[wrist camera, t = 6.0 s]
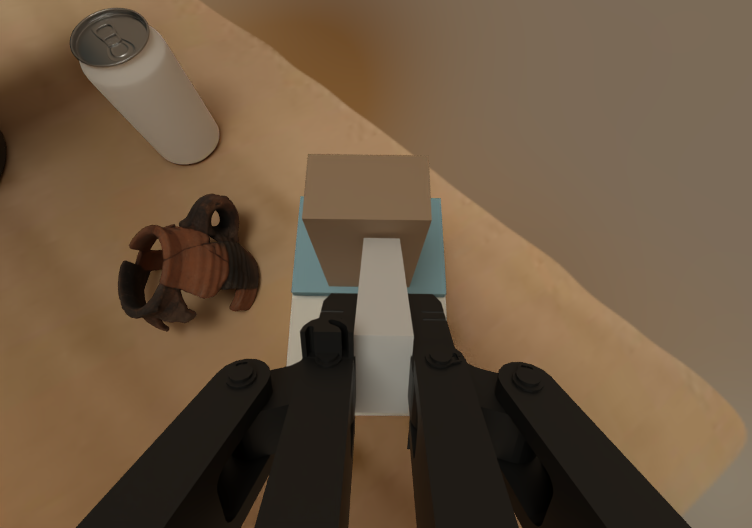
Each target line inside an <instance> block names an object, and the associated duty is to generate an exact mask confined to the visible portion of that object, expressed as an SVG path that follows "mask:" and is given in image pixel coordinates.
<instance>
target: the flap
mask: <svg viewBox="0 0 752 528" xmlns="http://www.w3.org/2000/svg"><path fill="white" fill-rule="evenodd" d="M364 238H400V244H401V251H402V258H403V265H404V272H405V279H406V286H407V293H408V294H433V295H434V296H435V297H445V295H446V279H445V262H444V246H443V230H442V214H441V198H431V195H430V175H429V156H411V155H340V154H308V159H307V170H306V181H305V191H304V196H301V198H300V208H299V219H298V229H297V239H296V250H295V260H294V270H293V281H292V291H291V292H292V294H293V295H294V296H329V295H330V294H331V293H346V294H358V288H359V278H360V269H361V259H362V250H363V240H364Z"/></svg>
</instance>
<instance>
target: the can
mask: <svg viewBox="0 0 752 528" xmlns="http://www.w3.org/2000/svg"><path fill="white" fill-rule="evenodd" d="M70 48H71V51H72V53H73V55H74V56H75V57H76V58H77V59H78V60H79V62H80V65H81V68H82V70H83V72H84V74H85V75H86V77H87V78H88V79H89V80H90V81H91V82H92V84H93V85H94V86H95V87H96V88H97V89H98V90H99V91H100V92H101V93H102V94H103V95H104V96H105V97H106V98H107V99H108V101H109V102H110V103H111V104H112V105H113V106H114V107H115V108H116V109H117V110H118V111H119V112H120V113H121V114H122V115H123V116H124V117H125V118H126V119H127V120H128V121H129V123H130V124H131V125H132V126H133V127H134V128H135V129H136V130H137V131H138V132H139V133H140V134H141V135H142V136H143V137H144V138H145V139H146V140H147V141H148V142H149V143H150V144H151V145H152V146H153V147H154V148H155V149H156V150H157V151H158V152H159V153H160V154H161V155H162V156H163V157H164V158H165V159H166V160H168V161H170V162H172V163H175V164H193V163H197V162H200V161H202V160H203V159H205V158H206V157H208V156H209V155H210V154H211V153H212V152H213V151H214V149H215V148H216V146H217V144H218V141H219V128H218V126H217V124H216V122H215V120H214V119H213V117H212V115H211V114H210V112H209V110H208V109H207V107H206V105H205V104H204V102H203V101H202V99H201V97H200V96H199V94H198V92H197V91H196V89H195V88H194V86H193V84H192V83H191V81H190V80H189V78H188V76H187V75H186V73H185V71H184V70H183V68H182V67H181V65H180V63H179V62H178V60H177V59H176V57H175V55H174V54H173V52H172V51H171V49H170V47H169V46H168V44H167V43H166V41H165V40H164V38H163V37H162V36H161V35H160V33H159V32H158V31H156V30H155V29H154V28H153V27H151V26H150V25H148V23H147V21H146V20H145V18H144V17H143V16H142V15H140V14H139V13H137V12H135V11H133V10H130V9H125V8H109V9H104V10H101V11H98V12H95V13H93V14H91V15H89V16H88V17H86V18H85V19H83V20H82V21H81V22H80V23H79V24H78V25H77V26H76V27H75V29H74V30H73V32H72V35H71V38H70Z"/></svg>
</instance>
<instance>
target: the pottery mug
mask: <svg viewBox="0 0 752 528" xmlns="http://www.w3.org/2000/svg"><path fill="white" fill-rule="evenodd" d="M215 210H216V211H217V212H218V214H219V217H220V222H219V224H218V225H217V226H212V225H211V218H212V215H213V213H214V211H215ZM179 226H180V227H176V226H175V224H173V225H169V226H166V227H164V228H163V227H160V226H158V225H150V226H147V227H145V228H143V229H141V231H139V232H138V233H137V234H136V235H135V237H134V238H133V239H132V241H131V242H130V245H129V246H130V248H131V249H135V250H139V253H138V256H137V259H136V263H135V264H133V263H131V262H128V261H123V263H122V264H121V267H120V271H119V279H118V294H119V299H120V300H121V306H122V309H123V310H124V311H125V313H126V314H127V315H128V316H130V317H131V318H136V319H138V318H144V319H145V320H146V321H147V322H148V323H150V324H151V325H153V326H154V327H156V328H158V329H161V330H164V331H169V327H168V326H167V325H165V324H164V323H163V321H167V322H182V323H187V322H189V321H191V320H192V319H194V318H195V317H196V315H197V314H196V312H195V311H193V310H191V309H188V307H187V305H186V303H185V302H184V300H183V298H182V294H181V290H183V291H185V292H188V293H191V294H194V295H196V296H199V297H201V298H203V299H205V298H210V297H213V296H215V295H216V294H217V293H218V292H219V290H220V289H222V290H226V289H236V292H235V296H234V299H233V301H232V303H231V305H230V309H231V310H232V311H239V310H248V309H250V307H251V305H252V304H253V302H254V299H255V297H256V292H257V288H258V280H259V273H258V266H257V263H256V261H255V260H254V258H253V256H252V255H251V254H250V253H249V252H247V251H246V250H245V249H244V248H243V247H242V246H241V245H240V244H239V243H238V242H239V239H238V229H239V216H238V212H237V210H236V208H235V206H234V204H233V202H232V201H231V200H229V198H228V197H227V196H220V195H215V194H208V195H205V196H203V197H201V198H199V199H198V200H197V201H196V202H195V204H194V205H193V207H192V208H191V210H190V212H189V214H188V215H187V217H186V218H185V219H183V220H182V221H180V222H179ZM209 236H210V237H211V238H213V239H214V240H216V241H217V242H213V243H210V237H209ZM157 239H159V241H160V243H161V246H162V250H150V249H151V247H152V246H153V244H154V243H155V241H156V240H157ZM159 269H162V274H161V278H160V283H159V285H158V287H157V289H156V291H155V293H154V295H153V296H152V298H151V299H150V300H149V302H148V303H146V300H145V294H144V289H145V286H146V283H147V280H148V277H149V275H150V272H151V271H154V270H159ZM162 320H163V321H162Z"/></svg>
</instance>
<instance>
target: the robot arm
mask: <svg viewBox="0 0 752 528" xmlns="http://www.w3.org/2000/svg"><path fill="white" fill-rule="evenodd" d="M5 159H6V145H5V141H4V138H3V135H2V133H1V131H0V176H1V174H2V171H3V168H4V164H5ZM300 339H301V349H302V360H300V361H299V362H297V363H295V364H293V365H290V366H287V367H283V368H279V369H274V370H270V368H269V367H268V366H267V364H266V363H265V362H262V361H260V360H257V359H244V360H239V361H235V362H233V363H231V364H229V365H226V366H225V367H224V368H223V369H221V370H220V371H219V372H218V373H217V374H216V375H215V376H214V377H213V378H212V379H211V380H210V381H209V382H208V384H207V385H206V386H205V387H204V388H203V389H202V390H201V391H200V392H199V393H198V395H197V396H196V397H195V398H194V399H193V400H192V401H191V402H190V403H189V404H188V405H187V407H186V408H185V409H184V410H183V411H182V412H181V413H180V414H179V415H178V416H177V417H176V419H175V420H174V421H173V422H172V423H171V424H170V425H169V426H168V427H167V428H166V430H165V431H164V432H163V433H162V434H161V435H160V436H159V437H158V438H157V439H156V440H155V442H154V443H153V444H152V445H151V446H150V447H149V448H148V449H147V450H146V451H145V452H144V454H143V455H142V456H141V457H140V458H139V459H138V460H137V461H136V462H135V463H134V465H133V466H132V467H131V468H130V469H129V470H128V471H127V472H126V473H125V474H124V475H123V477H122V478H121V479H120V480H119V481H118V482H117V483H116V484H115V485H114V486H113V487H112V489H111V490H110V491H109V492H108V493H107V494H106V495H105V496H104V497H103V498H102V499H101V501H100V502H99V503H98V504H97V505H96V506H95V507H94V508H93V509H92V510H91V512H90V513H89V514H88V515H87V516H86V517H85V518H84V519H83V520H82V521H81V522H80V524H79V525H78V526H77V527H76V528H241V526H242V524H243V522H244V520H245V519H246V517H247V515H248V513H249V511H250V509H251V507H252V506H253V504H254V502H255V500H256V498H257V496H258V494H259V492H260V491H261V489H262V487H263V485H264V483H265V481H266V479H267V478H268V476H269V478H268V481H267V485H266V488H265V492H264V496H263V499H262V503H261V506H260V510H259V513H258V517H257V520H256V524H255V528H348V524H349V509H350V494H351V479H352V464H353V449H354V434H355V413H404V414H408V405H409V416H410V421H409V434H408V446H407V449H410V451H411V463H412V475H413V487H414V499H415V511H416V523H417V528H519V527H518V524H517V520H516V517H517V518H518V520H519V522H520V524H521V526H522V528H691V527H690V526H689V525H688V524H687V523H686V521H685V520H684V519H683V518H682V517H681V516H680V515H679V514H678V513H677V512H676V511H675V510H674V509H673V507H672V506H671V505H670V504H669V503H668V502H667V501H666V500H665V499H664V498H663V497H662V496H661V495H660V493H659V492H658V491H657V490H656V489H655V488H654V487H653V486H652V485H651V484H650V483H649V482H648V481H647V479H646V478H645V477H644V476H643V475H642V474H641V473H640V472H639V471H638V470H637V469H636V468H635V467H634V465H633V464H632V463H631V462H630V461H629V460H628V459H627V458H626V457H625V456H624V455H623V454H622V453H621V451H620V450H619V449H618V448H617V447H616V446H615V445H614V444H613V443H612V442H611V441H610V440H609V439H608V437H607V436H606V435H605V434H604V433H603V432H602V431H601V430H600V429H599V428H598V427H597V426H596V425H595V423H594V422H593V421H592V420H591V419H590V418H589V417H588V416H587V415H586V414H585V413H584V412H583V411H582V409H581V408H580V407H579V406H578V405H577V404H576V403H575V402H574V401H573V400H572V399H571V398H570V397H569V395H568V394H567V393H566V392H565V391H564V390H563V389H562V388H561V387H560V386H559V385H558V384H557V383H556V381H555V380H554V379H553V378H552V377H551V376H550V375H548V374H547V373H546V372H545V371H544V370H542V369H540V368H538V367H536V366H534V365H531V364H527V363H523V362H511V363H508V364H505V365H503V366H502V367H501V369H500V370H499V373H495V372H491V371H487V370H483V369H480V368H477V367H474V366H472V365H470V364H468V363H467V362H466V359H465V358H464V356H463V355H462V353H461V352H459V351H458V350H457V349H455V347H454V344H453V341H452V337H451V334H450V330H449V327H448V324H447V321H446V317H445V314H444V310H443V307H442V303H441V301H440V300H438V299H437V298H436V297H435V296H434V295H433V294H408V293H407V286H406V279H405V272H404V265H403V258H402V251H401V244H400V238H364V240H363V250H362V259H361V269H360V278H359V288H358V294H346V293H331V294H330V295H329V296H328V297H327V298H326V299H325V300H324V301H323V304H322V308H321V312H320V316H319V318H317V319H314V320H311V321H310V322H308V323H307V324H305V325H304V326H303V327H302V329H301V330H300ZM514 513H515V514H514ZM515 515H516V517H515Z"/></svg>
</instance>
